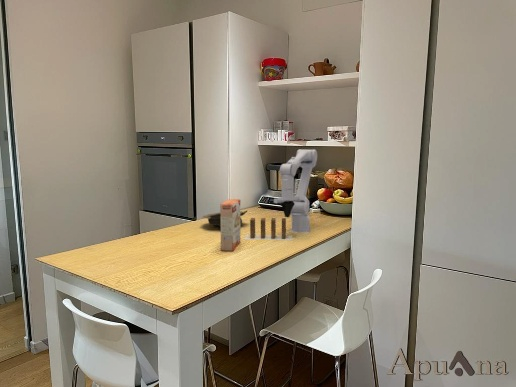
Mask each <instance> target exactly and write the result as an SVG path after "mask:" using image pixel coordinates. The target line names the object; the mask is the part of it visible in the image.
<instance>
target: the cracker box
mask: <svg viewBox="0 0 516 387" xmlns="http://www.w3.org/2000/svg"><path fill="white" fill-rule="evenodd" d="M219 205H220V207H219V208H220V209H219V211H220V212H219V213H220V214H221V226H220V251H224V252H233V251H234V250H235V249H236V248H237V247H238V246H239V244H240V243H241V226H240V217H241V216H240V211H241V199H237V198H236V199H235V198H229V199H227V200H225V201H224V202H222V203H220V204H219Z"/></svg>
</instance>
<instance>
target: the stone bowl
mask: <svg viewBox="0 0 516 387" xmlns="http://www.w3.org/2000/svg"><path fill="white" fill-rule="evenodd" d="M247 212H248V210H245V211H241V210H240V227H241V226H242V223H243V219H242V217H243V216H244V215H246V213H247ZM202 218H203V219H207V221H208V224H210V225H212V226H219V227H221V214H220V212H216V213H209V214H204V215H202Z"/></svg>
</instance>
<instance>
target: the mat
mask: <svg viewBox="0 0 516 387" xmlns="http://www.w3.org/2000/svg"><path fill="white" fill-rule="evenodd" d="M243 240H249V241H293V235H292V234H291V235H289V234H288V235H287V234H286V239H282V234H276V237H275V239H271V234H265V239H261V234H255V238H254V239H253V238H250V234H245V236H244V237H243Z"/></svg>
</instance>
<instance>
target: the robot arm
mask: <svg viewBox="0 0 516 387" xmlns="http://www.w3.org/2000/svg"><path fill="white" fill-rule="evenodd" d="M317 162H318V151H317V150H316V149H314V148H313V149H300V148H299V149H298V150H297V151H296V155H295V156H291V158H290V159H289V160H287V162H286V163H282V164H281V165H280V168H279V175H280V180H281V197H278V198H273V203H274V204H280V206H281V208H282V209H283V214H284V218H290V216H291V228H290V233H310V229H311V225H310V214H309V212H310V200H309V199H308V198H307V197H306V196H307V193H308V188H309V183H310V179H311V175H312V172H313V169H314V168H315V167H316V165H317ZM299 168H302V170H301V174H300V178H299V183H298V186H297V190H296V194H294V193H295V192H294V190H295V189H294V185H295V184H294V183H295V178H294V177H295V176H296V174H297V172H298V169H299Z"/></svg>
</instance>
